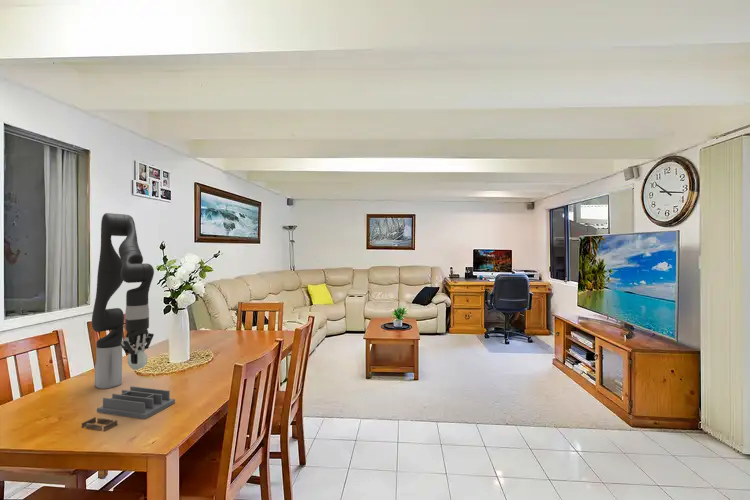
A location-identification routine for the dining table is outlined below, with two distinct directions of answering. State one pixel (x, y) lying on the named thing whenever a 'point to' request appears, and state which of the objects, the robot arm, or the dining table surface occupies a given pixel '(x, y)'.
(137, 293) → the robot arm
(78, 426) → the dining table surface
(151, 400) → the rack
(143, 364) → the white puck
